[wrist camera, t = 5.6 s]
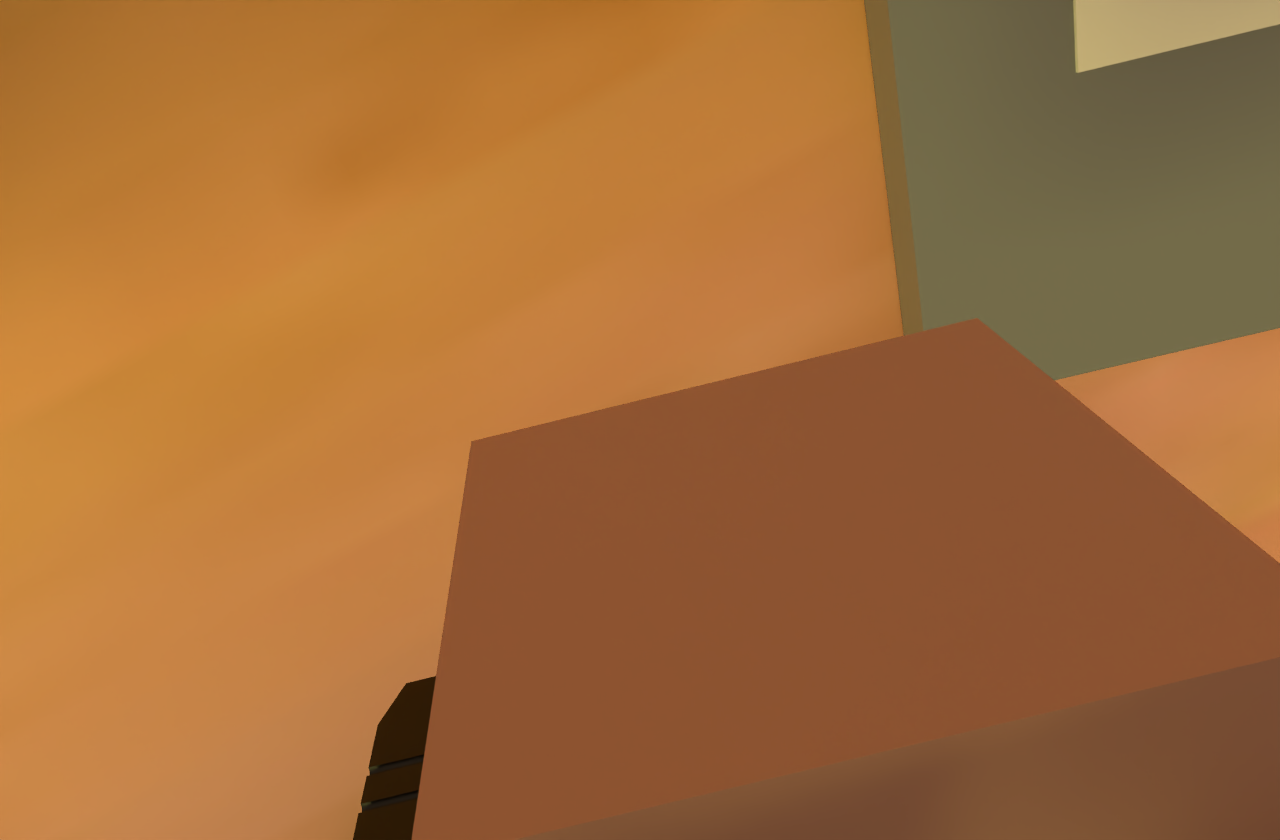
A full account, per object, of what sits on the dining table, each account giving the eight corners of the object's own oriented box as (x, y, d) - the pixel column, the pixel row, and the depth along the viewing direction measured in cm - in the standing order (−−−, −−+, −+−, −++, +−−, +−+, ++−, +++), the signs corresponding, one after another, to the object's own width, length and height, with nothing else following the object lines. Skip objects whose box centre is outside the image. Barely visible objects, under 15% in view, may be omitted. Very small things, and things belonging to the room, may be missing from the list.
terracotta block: (594, 810, 12) (628, 1343, 7) (472, 441, 10) (407, 863, 5) (1009, 712, 12) (1308, 1186, 7) (976, 317, 10) (1368, 636, 5)
